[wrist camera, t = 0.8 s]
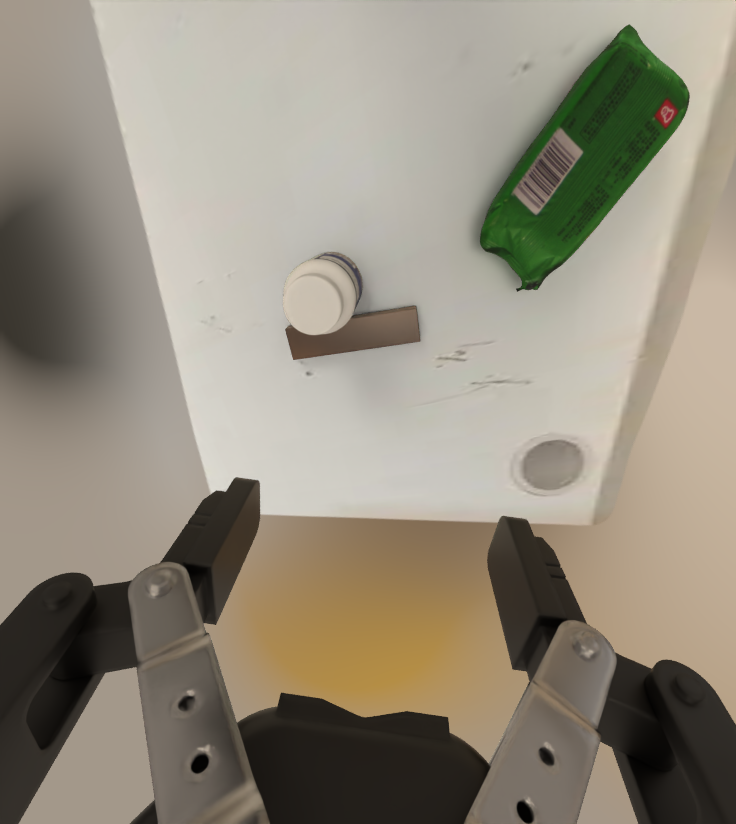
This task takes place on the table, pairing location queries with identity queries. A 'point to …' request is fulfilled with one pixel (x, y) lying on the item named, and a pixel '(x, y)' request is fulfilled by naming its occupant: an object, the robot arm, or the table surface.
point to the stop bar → (358, 334)
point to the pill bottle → (322, 293)
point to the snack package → (585, 158)
